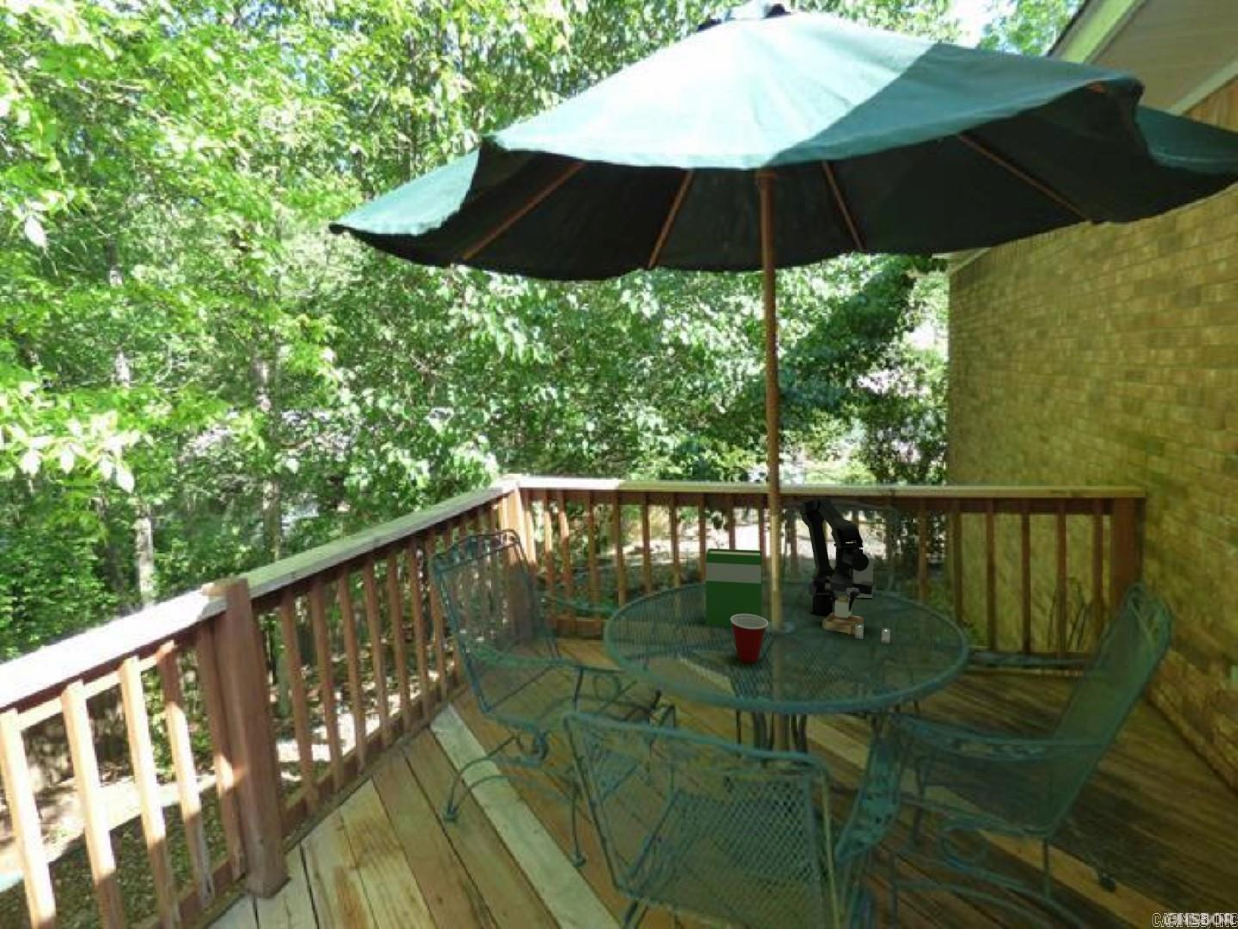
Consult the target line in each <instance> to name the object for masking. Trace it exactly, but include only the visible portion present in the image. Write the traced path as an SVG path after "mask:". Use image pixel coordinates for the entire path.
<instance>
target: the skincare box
mask: <svg viewBox="0 0 1238 929" xmlns="http://www.w3.org/2000/svg"><path fill="white" fill-rule="evenodd" d="M863 554H865V555H866V556H867V557H868V560H869V565H868V567H867V568H866V569H865V570H863V571H856V570H854V583H861V582H862V581H869V582H874V580H873V578H874V557H873V556H872V555H871V553H870V552H863ZM851 591H852V588H846V594H847V596H848V595H849V597H850V592H851ZM873 594H874V593H873ZM873 594H872V595H867V594H860V595H858V596H857V598H859V597H864V598H872V599H873Z"/></svg>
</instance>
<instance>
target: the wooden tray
mask: <svg viewBox="0 0 1238 929" xmlns="http://www.w3.org/2000/svg"><path fill="white" fill-rule="evenodd" d="M856 624H862V625H863V626H864V617H862V616H859V615H853V614H851V615H850V616H849V617H848V618H844V617H838V616H835V612H833V613H831V614H830V615H829V616H826V617H825V618H824V619H823V620H822V624H821V625H822V626H821V628H822V627H825V628H826V629H829V630H834V631H839V632H846V633H848V634H847V635H850V634H851V635H854V636H855V625H856Z"/></svg>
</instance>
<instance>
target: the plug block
mask: <svg viewBox="0 0 1238 929" xmlns="http://www.w3.org/2000/svg"><path fill="white" fill-rule="evenodd" d="M849 603H850V598H849V596H848V595H843V594H840V595H839V596H838V599H837V600H836V601H835V611H834V613H835V616H838V617H844V618H848V617H849V616H850V615H852V610H853V609H852V610H851V611H850V612H849Z"/></svg>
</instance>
